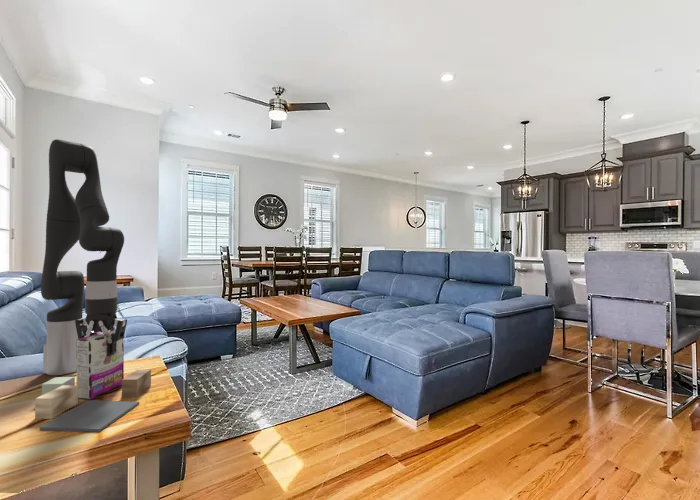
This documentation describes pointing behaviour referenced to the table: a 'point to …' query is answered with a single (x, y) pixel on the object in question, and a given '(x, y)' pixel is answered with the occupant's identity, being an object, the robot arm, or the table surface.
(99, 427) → the mat
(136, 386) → the walnut block
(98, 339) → the candy bar box
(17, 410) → the table surface
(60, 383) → the sage cube
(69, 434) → the table surface
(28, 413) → the table surface
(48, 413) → the beech block
